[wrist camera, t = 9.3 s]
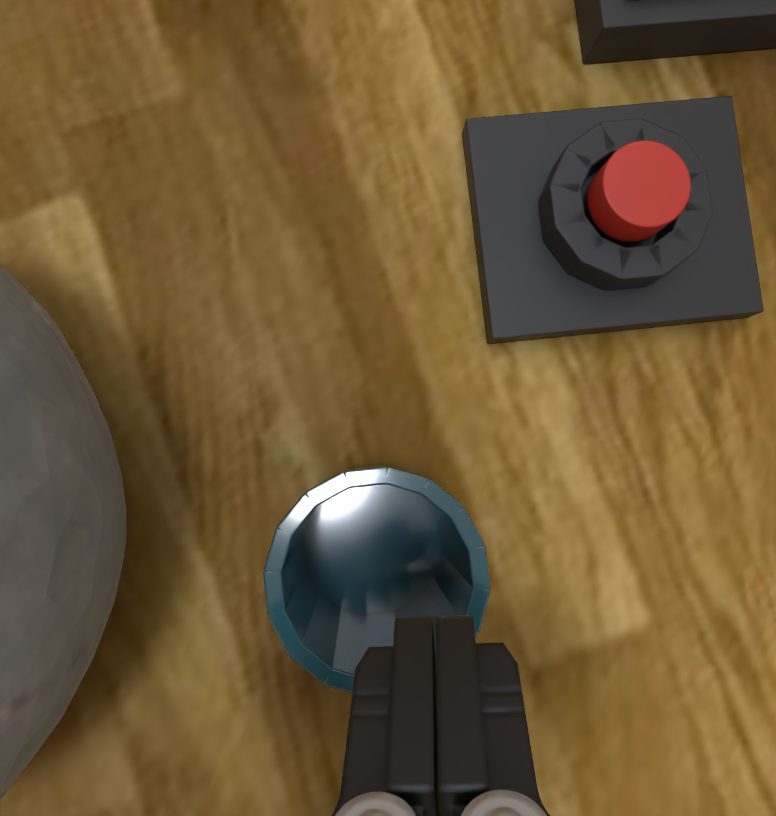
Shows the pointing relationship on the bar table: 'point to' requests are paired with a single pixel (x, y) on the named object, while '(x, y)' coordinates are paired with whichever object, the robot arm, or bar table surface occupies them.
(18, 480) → the bowl
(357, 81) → the bar table surface
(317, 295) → the bar table surface
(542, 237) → the pad
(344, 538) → the cup
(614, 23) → the scale
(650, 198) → the button
